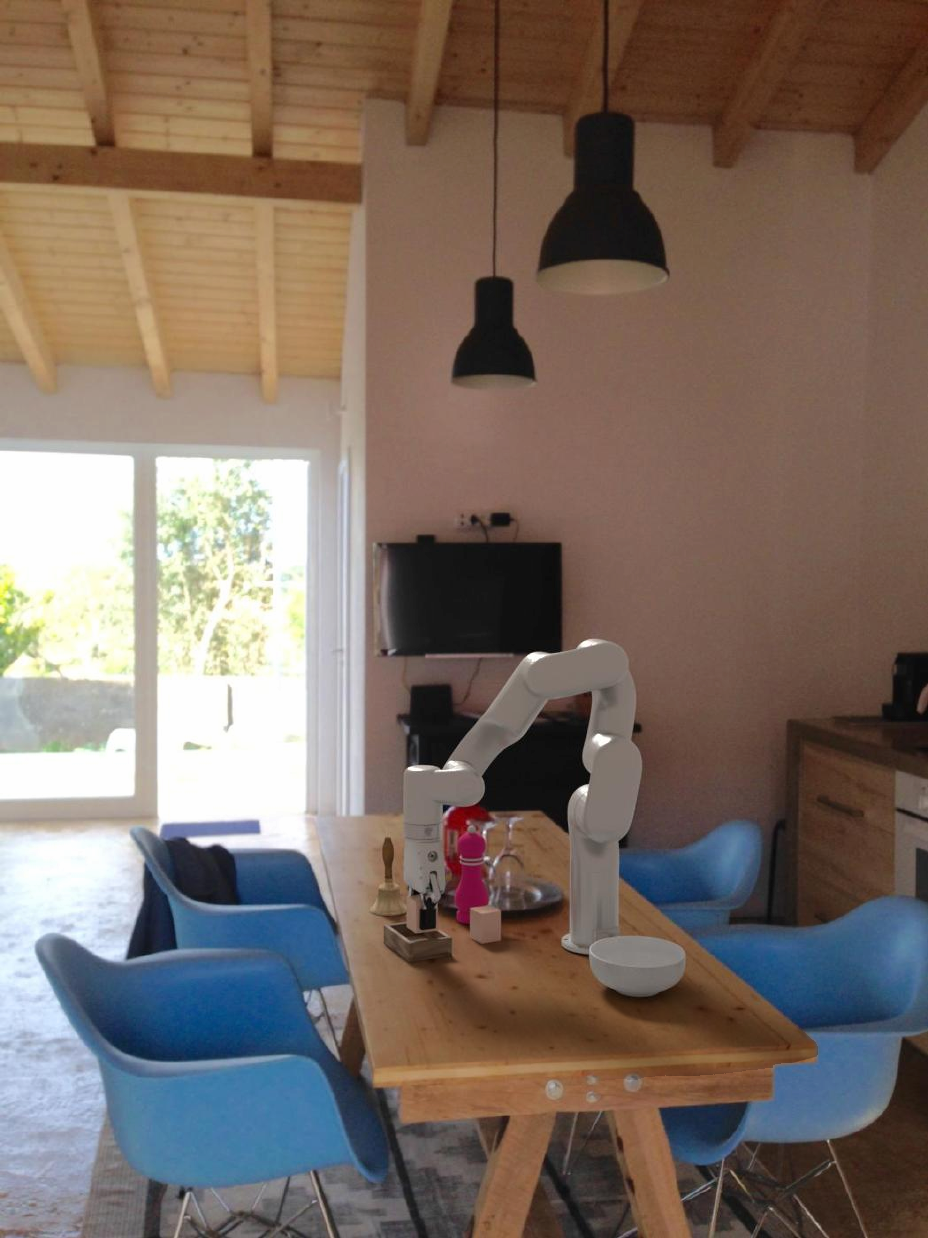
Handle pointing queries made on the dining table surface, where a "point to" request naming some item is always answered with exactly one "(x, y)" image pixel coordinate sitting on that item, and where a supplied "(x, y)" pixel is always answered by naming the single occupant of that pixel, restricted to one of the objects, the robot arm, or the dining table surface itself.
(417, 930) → the pale pink block
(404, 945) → the walnut crate
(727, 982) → the dining table surface
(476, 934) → the pale pink block
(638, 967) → the cereal bowl
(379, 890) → the hand bell
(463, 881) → the pepper mill
